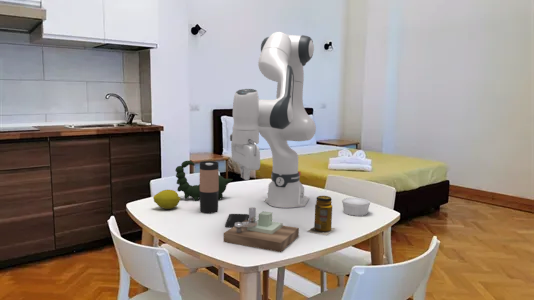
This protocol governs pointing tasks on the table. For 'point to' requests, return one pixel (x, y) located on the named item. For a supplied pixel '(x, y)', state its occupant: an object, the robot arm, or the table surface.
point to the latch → (251, 220)
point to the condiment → (323, 216)
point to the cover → (266, 224)
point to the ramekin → (355, 206)
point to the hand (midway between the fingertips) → (245, 178)
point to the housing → (262, 238)
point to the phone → (235, 219)
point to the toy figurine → (195, 190)
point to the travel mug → (209, 187)
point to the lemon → (167, 199)
